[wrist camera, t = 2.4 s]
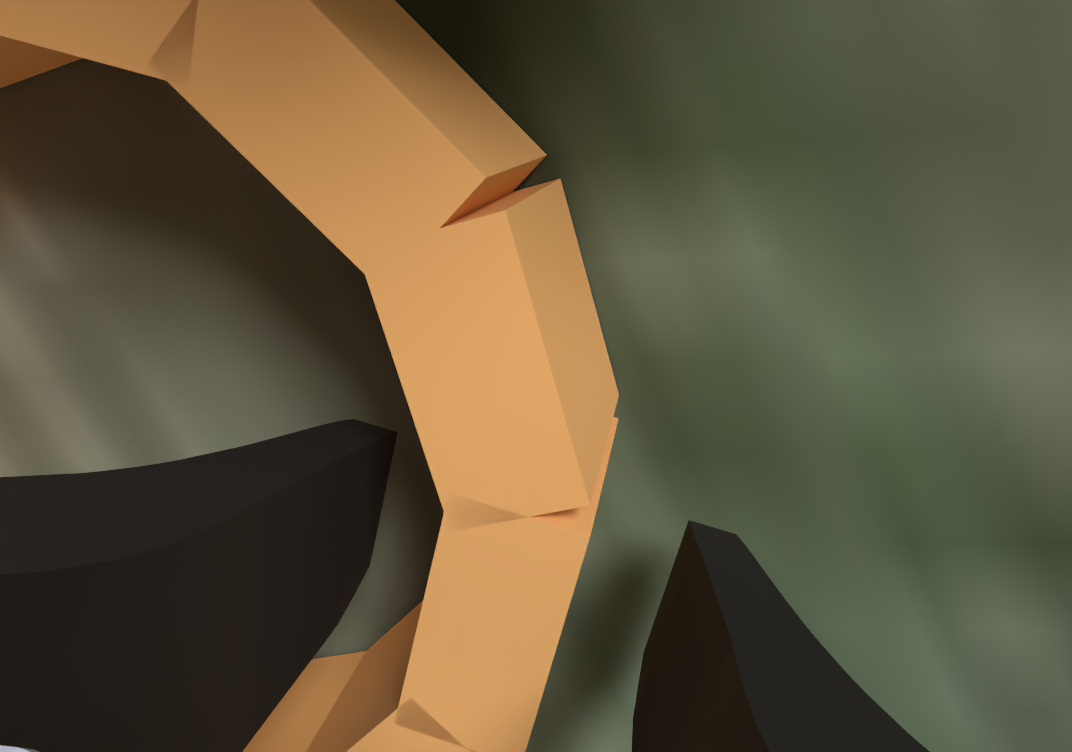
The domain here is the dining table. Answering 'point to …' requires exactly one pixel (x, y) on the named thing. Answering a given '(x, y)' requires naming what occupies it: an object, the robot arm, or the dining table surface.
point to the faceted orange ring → (408, 328)
